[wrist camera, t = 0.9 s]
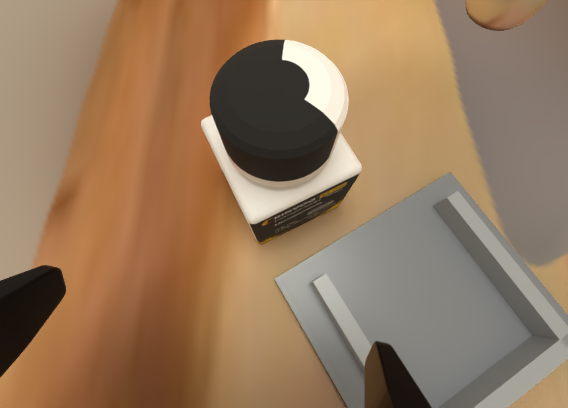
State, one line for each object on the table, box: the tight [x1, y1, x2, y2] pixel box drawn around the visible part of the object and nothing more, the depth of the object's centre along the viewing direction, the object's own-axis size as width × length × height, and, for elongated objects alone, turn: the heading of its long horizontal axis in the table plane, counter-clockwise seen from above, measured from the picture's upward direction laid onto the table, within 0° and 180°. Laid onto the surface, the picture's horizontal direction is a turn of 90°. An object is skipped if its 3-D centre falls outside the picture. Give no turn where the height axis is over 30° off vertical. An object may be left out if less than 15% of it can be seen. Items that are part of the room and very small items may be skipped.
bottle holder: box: [275, 172, 568, 408], centre depth 20 cm, size 14×16×3 cm
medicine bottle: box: [201, 40, 362, 244], centre depth 18 cm, size 7×7×12 cm
